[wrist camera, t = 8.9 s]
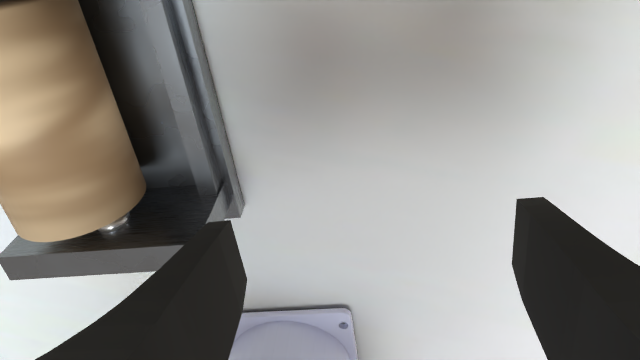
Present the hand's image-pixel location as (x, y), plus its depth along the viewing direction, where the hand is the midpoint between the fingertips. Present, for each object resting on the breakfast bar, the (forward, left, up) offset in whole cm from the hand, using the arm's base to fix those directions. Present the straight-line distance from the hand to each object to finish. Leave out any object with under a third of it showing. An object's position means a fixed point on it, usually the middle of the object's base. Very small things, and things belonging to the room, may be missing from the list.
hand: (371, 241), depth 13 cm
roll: (+2, +11, -9) cm, 14 cm away
